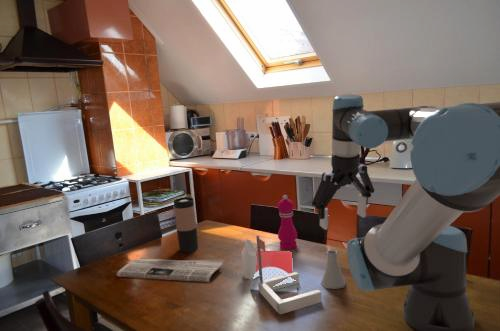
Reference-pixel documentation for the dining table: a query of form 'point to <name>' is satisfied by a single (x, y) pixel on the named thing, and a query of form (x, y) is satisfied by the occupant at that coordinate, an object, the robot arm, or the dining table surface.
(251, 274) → the grey piece
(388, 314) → the dining table surface
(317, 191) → the robot arm
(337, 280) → the flask
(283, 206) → the pepper mill
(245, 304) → the dining table surface
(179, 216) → the travel mug
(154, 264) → the newspaper
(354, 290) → the dining table surface
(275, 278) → the white u-shaped stand
